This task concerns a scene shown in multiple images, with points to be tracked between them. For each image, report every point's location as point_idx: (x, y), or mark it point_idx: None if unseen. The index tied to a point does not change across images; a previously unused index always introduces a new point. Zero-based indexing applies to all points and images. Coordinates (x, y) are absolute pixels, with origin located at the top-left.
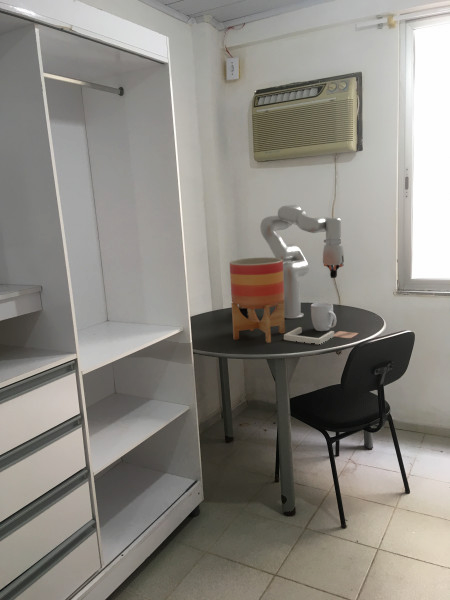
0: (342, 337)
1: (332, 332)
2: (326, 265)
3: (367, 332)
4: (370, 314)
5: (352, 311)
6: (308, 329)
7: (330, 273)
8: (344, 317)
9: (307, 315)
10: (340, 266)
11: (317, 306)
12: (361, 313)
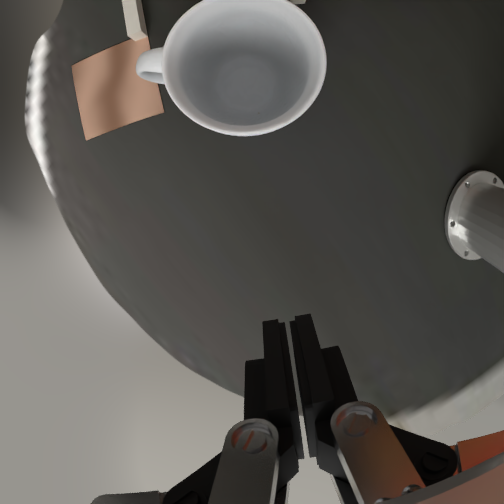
0: (100, 52)
1: (125, 21)
2: (472, 457)
3: (73, 176)
4: (239, 392)
5: None
6: None
7: (343, 368)
8: None
9: (439, 259)
10: (134, 502)
11: (305, 88)
12: None
